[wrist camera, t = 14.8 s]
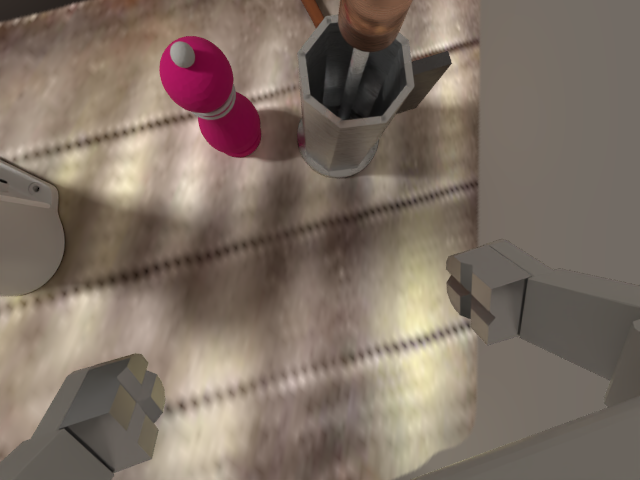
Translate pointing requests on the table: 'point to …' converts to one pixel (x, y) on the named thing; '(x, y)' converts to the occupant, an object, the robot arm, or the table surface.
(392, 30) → the plunger
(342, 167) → the press
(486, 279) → the robot arm
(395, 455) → the table surface
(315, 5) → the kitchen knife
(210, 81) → the pepper mill
